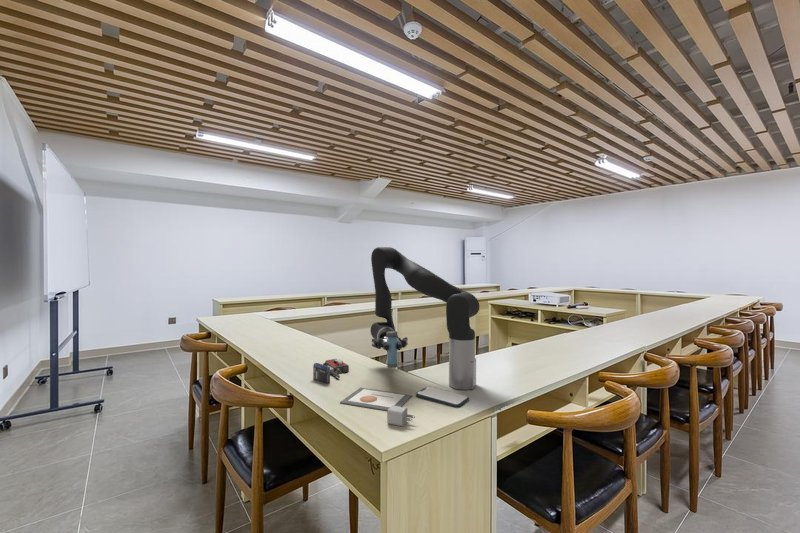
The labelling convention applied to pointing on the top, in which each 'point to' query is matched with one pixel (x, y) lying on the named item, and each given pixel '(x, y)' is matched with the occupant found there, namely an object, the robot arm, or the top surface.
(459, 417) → the top surface
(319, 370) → the mini dv tape
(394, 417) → the usb wall charger
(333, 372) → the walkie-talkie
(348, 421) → the top surface
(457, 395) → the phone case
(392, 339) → the bottle
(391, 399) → the grey picture frame
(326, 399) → the top surface
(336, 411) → the top surface
